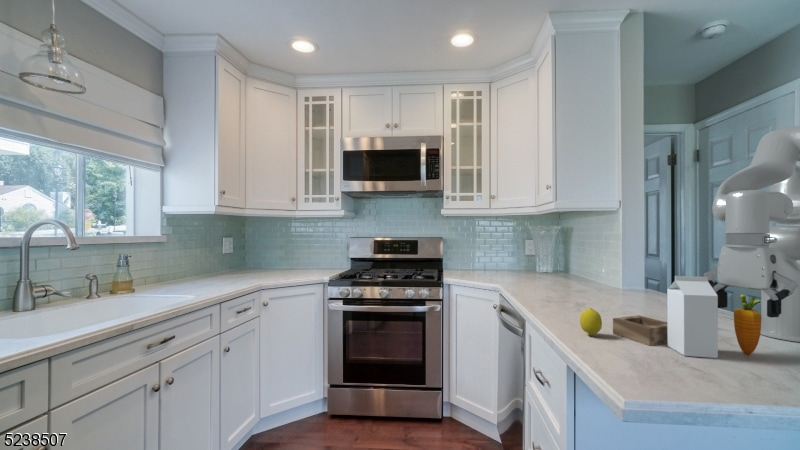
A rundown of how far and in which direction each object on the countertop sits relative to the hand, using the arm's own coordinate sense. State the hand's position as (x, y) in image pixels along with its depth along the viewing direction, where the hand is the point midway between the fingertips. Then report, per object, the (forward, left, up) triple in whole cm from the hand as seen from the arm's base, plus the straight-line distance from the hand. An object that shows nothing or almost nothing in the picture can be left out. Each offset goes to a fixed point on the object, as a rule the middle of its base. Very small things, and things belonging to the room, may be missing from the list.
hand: (746, 312), depth 82 cm
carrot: (-1, 0, -11) cm, 11 cm away
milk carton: (+9, -6, -11) cm, 16 cm away
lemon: (+22, -24, -11) cm, 35 cm away
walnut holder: (+9, -18, -11) cm, 23 cm away
